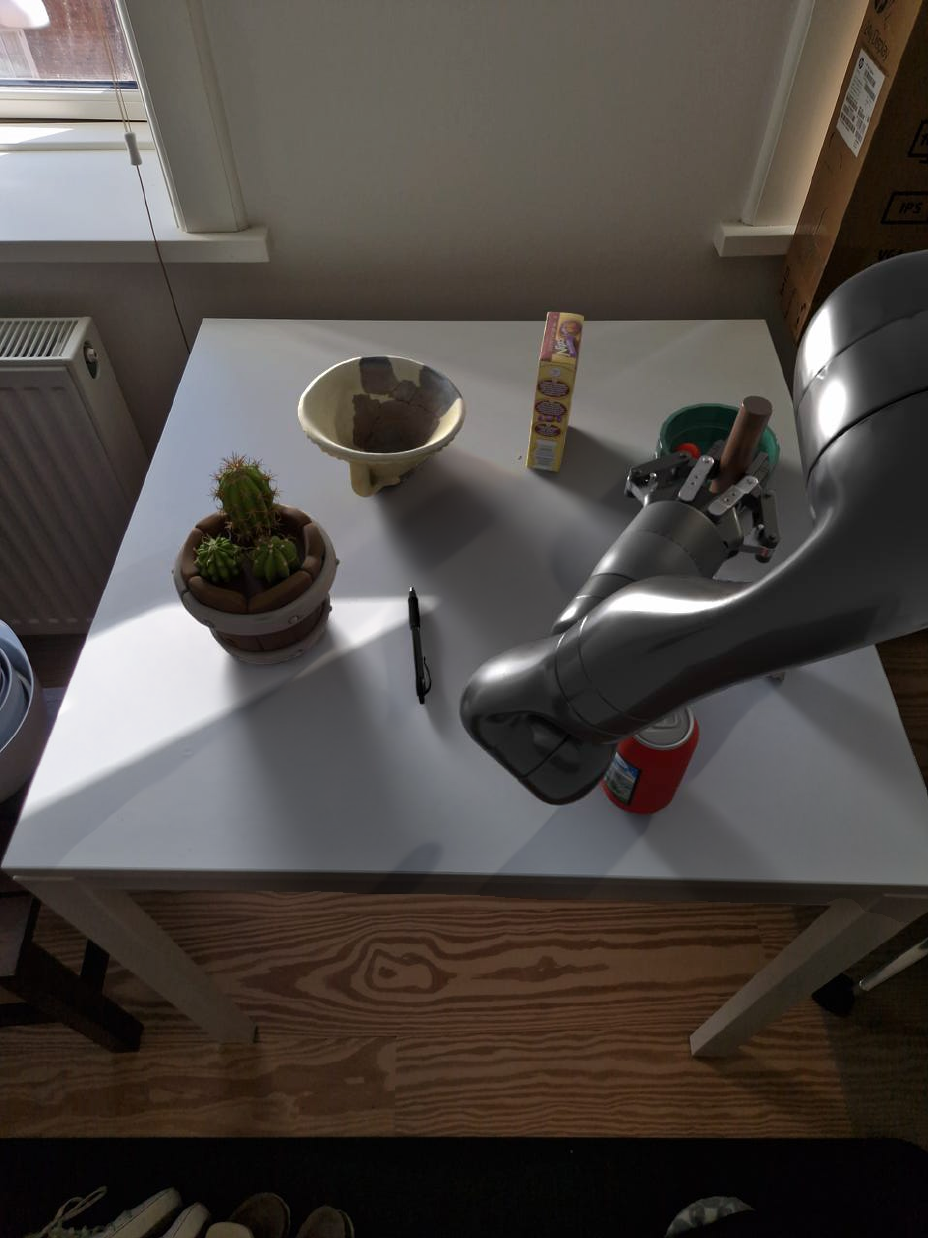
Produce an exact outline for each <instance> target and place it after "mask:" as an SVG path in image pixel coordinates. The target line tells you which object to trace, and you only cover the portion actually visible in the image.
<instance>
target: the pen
mask: <svg viewBox="0 0 928 1238" xmlns="http://www.w3.org/2000/svg"><path fill="white" fill-rule="evenodd" d="M419 604H420V603H419V598H418V596H417V591H416V589H415V587H414V586H410V587H409V589H408V598H407V605H408V621H409V629H410V632H411V642H412V643H411V644H412V656H413V666H414V667H413V668H414V679H415V682H414V683H415V684H414V685H415V694H416V697H418V703H419V705H421V706H422V705H423V706H424V705H425V704H426V696H428V694H429V693H430V691H431V689H432V685H433V679H432V674H431V670H430V668H429V666H428V664H427V662H426V661H427V658H426V655H423V645H422V634H421V629H422V626H421V625H422V624H421V614H420V605H419ZM425 671H426V673H427V677H428V686H427V683H426V678H425Z"/></svg>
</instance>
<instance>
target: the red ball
mask: <svg viewBox="0 0 928 1238" xmlns="http://www.w3.org/2000/svg"><path fill="white" fill-rule="evenodd" d="M678 451H687V452H689V453H690V454H691V457H692V458H700V451H699V449H698V448H697V446H695V445H694V444H691V443H684V444H681V445H679V446H678V447H677V448H676V450H675V452H678ZM675 452H674V453H675Z"/></svg>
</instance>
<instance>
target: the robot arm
mask: <svg viewBox="0 0 928 1238" xmlns="http://www.w3.org/2000/svg"><path fill="white" fill-rule="evenodd" d="M800 340H801V341H800V343H799V346H798V349H797V355H796V358H795V365H794V373H793V383H792V384H793V386H792V387H793V388H792V410H793V417H794V425H795V432H796V438H797V443H798V450H799V457H800V461H801V462H800V463H801V469H802V476H803V481H804V489H805V493H806V501H807V503H806V504H807V507H808V508H807V509H808V512H809V513H808V514H809V517H810V519H811V523H812V530H811V532H810V533H809V535H808V536H807V537H806V538H805V539H804V540H803V542H801V544H799V546H798V547H797V548H796V549H795V550H794V551H793V552H792V553H790V555H788V556H787V557H786V558H785V559H784V560H783V561H781V562H780V563H779V564H777V565H776V566H775V567H774V568H772V569H771V570H770V571H768V572H766V573H765V574H764V575H762V576H760V577H758V578H756V579H753V580H749V581H733V580H724V579H716V578H714V577H715V575H716V574H717V573H718V572H719V570H720V569H721V567H722V566H723V564H724V563H725V562H726V561H728V560H731V559H734V558H735V557H737V556H738V555H739V553H745V554H750V555H752V554H753V555H754V558H755V561H757V562H758V563H760V564H763V565H765V564H768V563H770V561H771V560H772V558H773V556H774V553H775V551H776V549H777V547H778V545H779V543H780V541H781V529H780V522H779V513H778V504H777V503H778V502H777V496H776V493H775V492H774V491H773V490H771V489H769V488H767V489H764V490H763V489H762V488H761V487H760V486H761V485H762V484H763V482H764V481H765V479H766V477H767V475H768V473H769V470H770V468H771V462H769V461H767V458H768V456H769V455H768V454H766V453H764V452H760V453H759V455H758V456H757V457H756V459H755V460H754V461H753V463H752V464H751V465H750V467H749V469H748V470H747V471H746V472H745V474H744V476H743V479H742V480H741V481H739V482H738V483H737V484H736V485H732V486H731V487H730V488H729V489H728V490H727V491H726V492H725V493H724V494H723V495H720V494H716V493H713V492H711V491H710V490H708V489H707V488H706V487H705V485H706V482H707V481H708V480H713V478H714V476H715V473H716V470H717V468H718V465H719V463H720V460H721V457H722V455H723V452H724V449H725V447H726V444H727V441H728V439H729V437H728V438H727V439H726V440H725V441H722V440H718V441H716V442H715V443H714V444H713V446H712V447H711V448H710V449H709V451H708V452H707V453H706V454H705V455H704V456H701V457H700V458H692V457H691V454H690V453H689V452H687V451H678V452H675V453H672V454H670V455H667V456H664V457H661V458H658V459H655V460H653V459H652V460H650V461H647V462H645V463H642V464H639V465H636V466H633V467H631V468H630V471H629V473H628V476H627V480H626V483H625V489H624V492H623V493H624V496H626V497H627V498H628V499H637V500H639V502H640V503H641V504H642V505H641V508H640V511H639V513H637V515H636V516H635V517H634V518H633V520H632V521H631V522H630V523H629V525H628V526H627V527H626V528H625V529H624V531H623V532H622V533H621V534H620V535H619V536H618V538H617V539H616V540H615V541H614V542H613V544H611V546H609V548H608V550H607V551H606V552H605V553H604V555H603V556H602V557H601V559H600V560H599V561H598V562H597V564H595V566H594V569H593V570H592V573H591V575H589V577H588V579H587V580H586V582H585V583H584V585H582V587H581V588H580V589H579V590H578V592H577V593H576V594H575V595H574V597H572V599H571V600H570V601H569V603H568V604H567V605H566V606H565V607H564V609H562V611H561V612H560V613H559V615H558V616H557V617H556V619H555V620H554V622H553V623H552V624H551V625H552V626H551V628H550V631H549V637H545V638H542V639H538V640H533V641H529V642H526V643H525V642H524V643H522V644H519V645H516V646H513V647H510V648H508V649H506V650H504V651H502V652H499V653H498V654H496V655H494V656H492V657H491V658H489V659H487V660H486V661H485V662H484V663H483V664H481V665H480V666H479V667H478V668H477V669H476V670H474V672H473V673H472V674H471V675H470V677H469V678H468V679H467V680H466V683H465V685H464V687H463V688H462V690H461V694H460V697H459V702H458V708H459V709H458V714H459V720H460V722H461V725H462V727H463V730H464V731H465V732H466V733H467V735H468V736H469V737H470V738H471V740H472V741H474V742H475V744H477V745H478V746H479V747H480V749H482V750H483V751H484V752H486V754H487V755H489V756H490V757H491V758H492V759H493V760H494V761H495V762H497V763H498V764H499V765H500V766H501V767H502V768H503V769H504V770H505V771H506V772H507V773H509V775H511V776H512V777H513V778H514V779H516V781H517V782H518V783H519V784H520V785H521V786H522V787H523V788H525V789H526V790H527V791H528V792H529V793H530V794H531V795H532V796H533V797H534V798H536V799H538V800H539V801H541V802H542V803H544V804H546V805H550V806H558V807H559V806H560V807H561V806H567V805H570V804H573V803H576V802H578V801H580V800H582V799H583V798H586V797H587V796H588V795H590V794H591V793H592V792H593V791H594V790H595V789H596V788H597V787H598V786H599V785H600V783H601V781H602V780H603V778H604V777H605V775H606V773H607V772H608V770H609V768H610V766H611V764H612V762H613V760H614V757H615V755H616V752H617V749H618V747H619V744H620V741H624V740H626V739H628V738H630V737H632V736H634V735H636V734H638V733H640V732H642V731H644V730H646V729H647V728H649V727H651V726H653V725H655V724H657V723H659V722H660V721H662V720H664V719H666V718H668V717H670V716H672V715H673V714H675V713H677V712H679V711H681V710H682V709H684V708H686V707H688V706H690V707H691V706H692V705H695V704H696V703H698V702H700V701H702V700H705V699H707V698H708V697H711V696H713V695H715V694H718V693H721V692H723V691H726V690H728V689H731V688H734V687H737V686H740V685H743V684H747V683H749V682H753V681H757V680H759V679H763V678H766V677H769V676H771V675H773V674H776V673H780V672H784V671H785V672H786V671H791V670H795V669H797V668H801V667H806V666H809V665H811V664H812V665H813V664H815V663H820V662H822V661H825V660H829V659H833V658H836V657H839V656H843V655H846V654H850V653H852V652H857V651H859V650H861V649H865V648H868V647H872V646H874V645H877V644H881V643H884V642H886V641H890V640H893V639H897V638H900V637H903V636H906V635H909V634H912V633H915V632H919V631H922V630H924V629H925V630H926V629H928V249H923V250H918V251H917V250H916V251H913V252H906V253H901V254H899V255H898V254H897V255H896V256H893V257H891V258H888V259H885V260H882V261H880V262H876V263H874V264H872V265H870V266H869V267H867V268H865V269H863V270H861V271H859V272H858V273H856V274H854V275H853V276H851V277H849V278H848V279H847V280H845V281H844V282H842V283H840V285H839V286H838V287H837V288H835V289H834V291H832V292H831V293H830V294H829V295H828V296H827V298H826V299H825V300H824V301H823V303H822V304H821V306H820V307H819V308H818V309H817V311H816V312H815V313H814V314H813V316H812V317H811V319H810V320H809V323H808V325H807V327H806V329H805V331H804V333H803V335H802V338H801V339H800ZM684 479H687V480H686V482H685V484H683V485H678V486H674V487H669V488H665V489H661V488H664V487H667V486H670V485H672V484H675V483H678V482H681V481H683V480H684ZM746 507H747V508H746ZM745 508H746V509H748V510H749V511H750V512H751V513H750V519H751V529H750V531H749V533H748V534H747V535H744V532H743V528H742V525H741V522H740V521H741V520H740V518H739V515H740V514H741V513H742V512H743V511H744V510H746V509H745Z"/></svg>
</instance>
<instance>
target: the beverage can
mask: <svg viewBox="0 0 928 1238" xmlns="http://www.w3.org/2000/svg"><path fill="white" fill-rule="evenodd" d="M699 728H700V727H699V723H698V721H697V717H696V716H695V714H694V712H693V709H692V707H691V705H690V706H688V707H686V708H684V709H682V710H681V711H679V712H677V713H675V714H673V715H672V716H670V717H668V718H666V719H664V720H662V721H660V722H659V723H657V724H655V725H653V726H651V727H649V728H647V729H646V730H644V731H642V732H640V733H638V734H636V735H634V736H632V737H630V738H628V739H626V740H624V741H620V744H619V747H618V749H617V752H616V755H615V757H614V760H613V762H612V764H611V766H610V768H609V770H608V772H607V773H606V775H605V777H604V778H603V780H602V781H601V782H600V783H601V786H602V789H603V792H604V793H605V796H606V798H608V800H610V801H611V803H612V804H614V805H615V806H616V807H618V808H619V809H620V810H623V811H624V812H627V813H630V814H633V815H643V816H644V815H645V816H646V815H652V814H655V813H658V812H660V811H662V810H663V809H665V808H666V807H667V806H668V805H669V804H670V803H671V802H672V801H673V799H674V797H675V795H676V793H677V791H678V788H679V787H680V785H681V783H682V780H683V778H684V776H685V773H686V771H687V769H688V767H689V764H690V762H691V760H692V758H693V755H694V753H695V751H696V748H697V746H698V742H699V739H700V729H699Z"/></svg>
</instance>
